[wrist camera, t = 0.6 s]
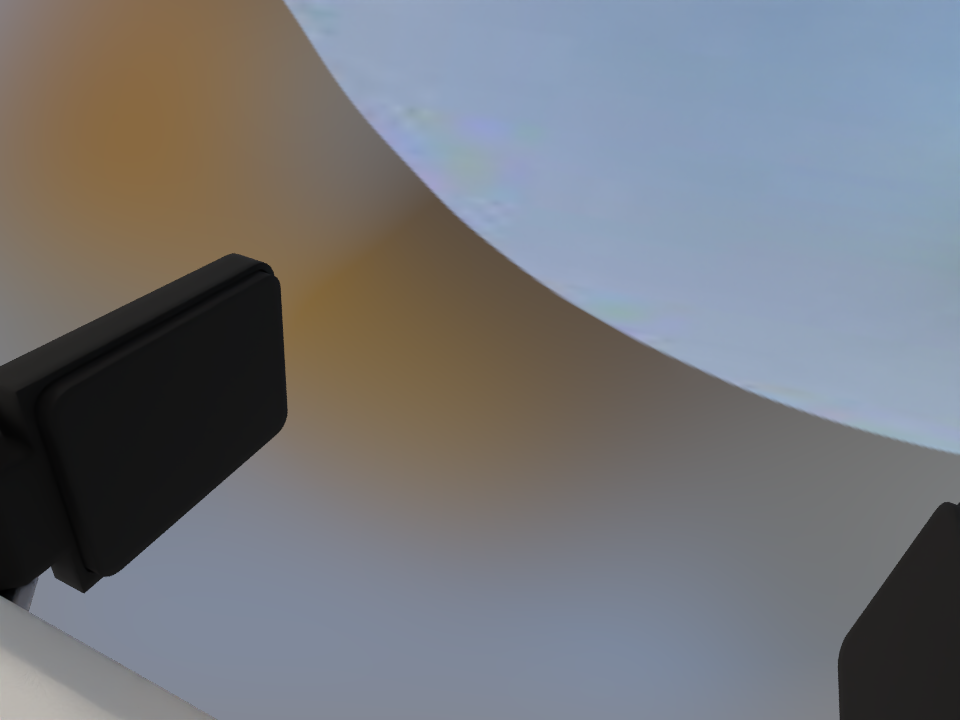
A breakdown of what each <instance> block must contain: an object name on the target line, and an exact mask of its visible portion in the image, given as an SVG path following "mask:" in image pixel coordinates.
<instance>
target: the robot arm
mask: <svg viewBox="0 0 960 720" xmlns="http://www.w3.org/2000/svg"><path fill="white" fill-rule="evenodd" d="M282 323H283V322H282V305H281V288H280V282H279V280H278V278H277V277H275V276H274V272H273V270H272V269H271V267H270V266H269V265H268V264H266V263H264V262H261V261H258V260H254V259H252V258H248V257H245V256H242V255H239V254H229V255H226V256H224V257H222V258H220V259H218V260H216V261H214V262H212V263H210V264H208V265H206V266H204V267H202V268H200V269H198V270H196V271H194V272H192V273H190V274H187V275H185V276H183V277H181V278H179V279H178V280H175V281H173V282H171V283H169V284H167V285H165V286H163V287H161V288H159V289H157V290H155V291H153V292H151V293H149V294H147V295H145V296H143V297H141V298H139V299H136V300H135V301H133V302H130V303H129V304H126V305H124V306H122V307H120V308H118V309H116V310H114V311H112V312H110V313H108V314H106V315H104V316H102V317H100V318H98V319H96V320H94V321H92V322H90V323H88V324H86V325H83V326H81V327H79V328H77V329H76V330H74V331H71V332H69V333H67V334H65V335H63V336H61V337H59V338H57V339H55V340H53V341H51V342H49V343H47V344H45V345H43V346H41V347H39V348H37V349H35V350H33V351H31V352H28V353H27V354H24V355H22V356H20V357H18V358H16V359H14V360H12V361H10V362H8V363H6V364H4V365H2V366H0V720H217V719H215V718H213V717H212V716H210V715H208V714H207V713H205V712H203V711H201V710H200V709H198V708H196V707H195V706H193V705H191V704H189V703H188V702H186V701H184V700H182V699H181V698H179V697H177V696H175V695H174V694H172V693H170V692H168V691H167V690H165V689H163V688H162V687H160V686H158V685H156V684H154V683H153V682H151V681H149V680H147V679H146V678H144V677H142V676H141V675H139V674H137V673H135V672H133V671H132V670H130V669H128V668H126V667H124V666H123V665H121V664H120V663H118V662H116V661H114V660H112V659H111V658H109V657H107V656H105V655H104V654H102V653H100V652H98V651H97V650H95V649H93V648H91V647H90V646H88V645H86V644H84V643H83V642H81V641H79V640H77V639H76V638H73V637H72V636H70V635H69V634H67V633H65V632H63V631H62V630H60V629H58V628H56V627H55V626H53V625H51V624H49V623H47V622H45V621H44V620H42V619H40V618H39V617H37V616H35V615H33V614H32V613H30V612H29V609H30V605H31V602H32V598H33V595H34V591H35V588H36V584H37V581H38V576H39V575H41V574H42V573H43V572H44V571H46V570H47V569H48V568H49V567H50V566H51V568H52V570H53V573H54V576H55V578H57V579H58V580H60V581H62V582H64V583H66V584H68V585H69V586H71V587H73V588H75V589H77V590H79V591H80V592H82V593H85V592H86V591H88V590H89V589H90V588H91V587H92V586H93V585H94V584H96V583H97V582H98V581H99V580H100V579H101V578H103V577H106V576H112V575H114V574H116V573H117V572H119V571H120V570H122V569H123V568H124V567H125V566H126V565H127V564H129V563H130V562H131V561H132V560H133V559H134V558H135V557H137V556H138V555H139V554H140V553H141V552H142V551H143V550H145V549H146V548H147V547H148V546H149V545H150V544H151V543H153V542H154V541H155V540H156V539H157V538H158V537H160V536H161V535H162V534H163V533H164V532H165V531H166V530H168V529H169V528H170V527H171V526H172V525H173V524H174V523H176V522H177V521H178V520H179V519H180V518H181V517H182V516H184V515H185V514H186V513H187V512H188V511H189V510H190V509H192V508H193V507H194V506H195V505H196V504H197V503H199V502H200V501H201V500H202V499H203V498H204V497H205V496H207V495H208V494H209V493H210V492H211V491H212V490H213V489H215V488H216V487H217V486H218V485H219V484H220V483H222V481H223V480H225V479H226V478H227V477H228V476H230V475H231V474H232V473H233V472H234V471H235V470H236V469H237V468H239V467H240V466H241V465H242V464H243V463H244V462H245V461H247V460H248V459H249V458H250V457H251V456H253V455H254V454H255V453H256V452H257V451H258V450H259V449H261V448H262V447H263V446H264V445H265V444H266V443H267V442H268V441H270V440H271V439H272V438H273V437H274V436H275V435H276V434H277V433H279V431H280V430H281V429H282V427H283V426H284V423H285V421H286V418H287V395H286V394H287V393H286V376H285V359H284V340H283V324H282ZM838 682H839V708H840V709H839V710H840V720H960V503H959V504H958V505H956V504H953V503H950V502H944V503H943V504H941V505H940V506H939V507H938V508H937V509H936V511H935V512H934V513H933V515H932V516H931V517H930V519H929V520H928V522H927V523H926V524H925V526H924V527H923V529H922V530H921V532H920V533H919V534H918V536H917V537H916V539H915V540H914V541H913V543H912V544H911V545H910V547H909V548H908V550H907V551H906V552H905V554H904V555H903V557H902V558H901V560H900V561H899V562H898V564H897V565H896V567H895V568H894V569H893V571H892V572H891V574H890V575H889V577H888V578H887V579H886V581H885V582H884V584H883V585H882V586H881V588H880V589H879V590H878V592H877V593H876V595H875V596H874V597H873V599H872V600H871V602H870V603H869V604H868V606H867V608H866V609H865V610H864V611H863V613H862V614H861V616H860V617H859V618H858V620H857V621H856V623H855V624H854V625H853V627H852V628H851V630H850V631H849V632H848V634H847V635H846V637H845V639H844V641H843V643H842V646H841V649H840V653H839V659H838Z"/></svg>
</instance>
